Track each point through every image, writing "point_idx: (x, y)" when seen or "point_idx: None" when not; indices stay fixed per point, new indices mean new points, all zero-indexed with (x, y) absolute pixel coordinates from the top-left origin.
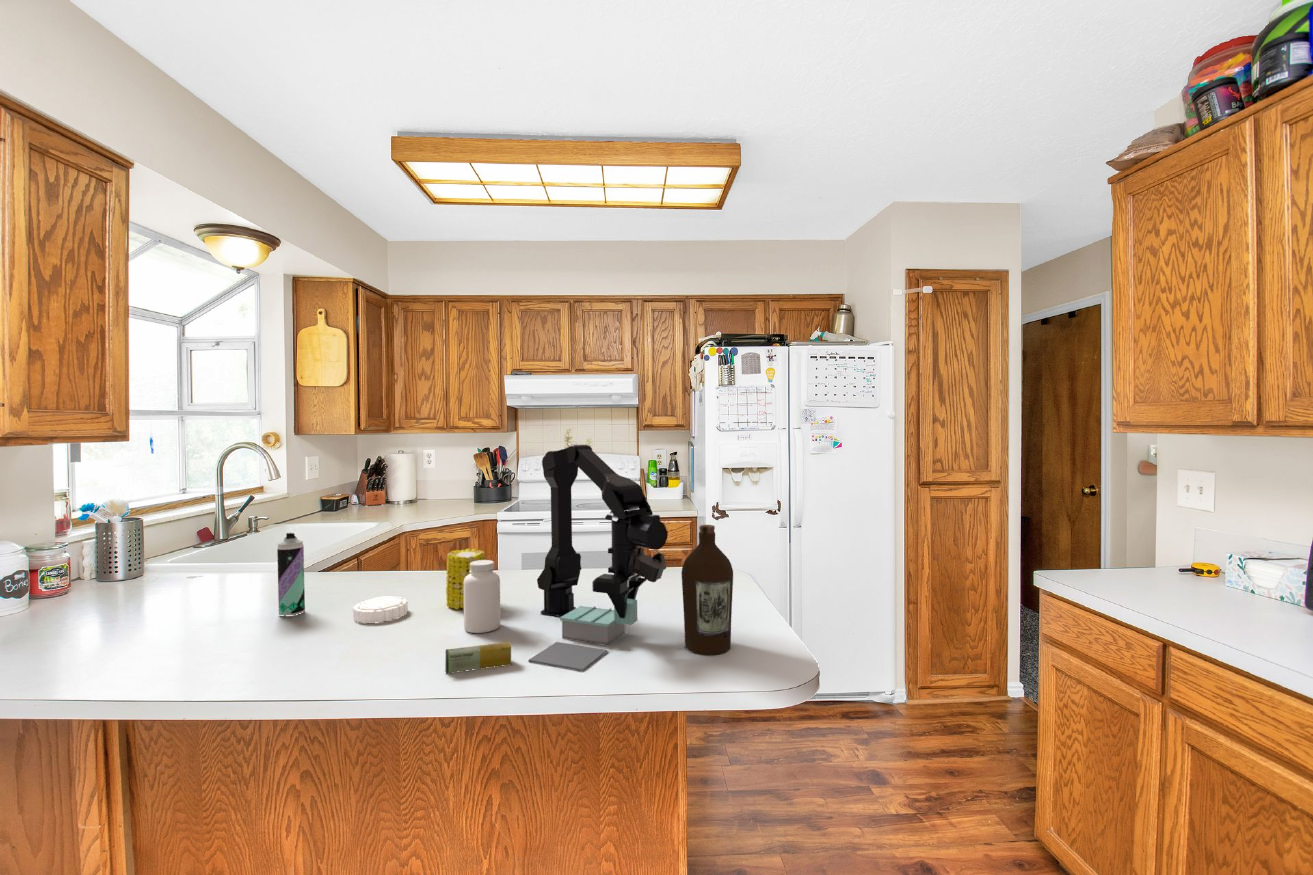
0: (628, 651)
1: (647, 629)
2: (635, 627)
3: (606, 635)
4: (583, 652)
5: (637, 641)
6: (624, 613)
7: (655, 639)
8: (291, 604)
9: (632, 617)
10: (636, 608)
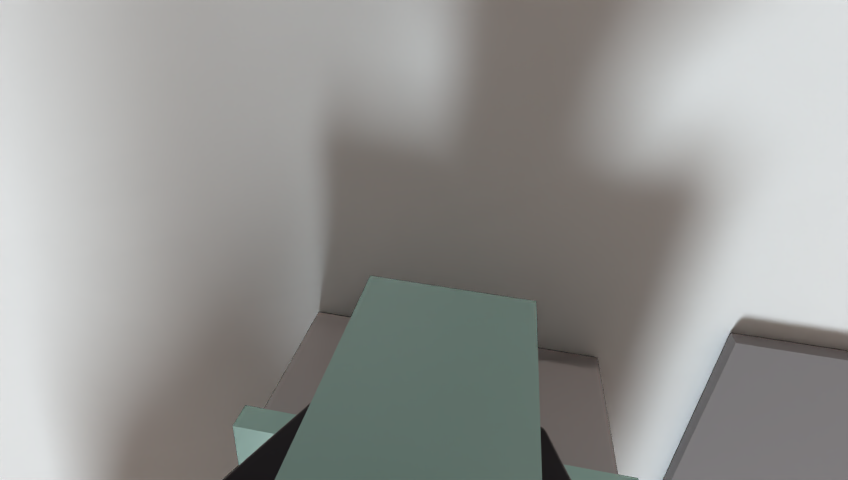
0: (707, 184)
1: (177, 171)
2: (188, 267)
3: (605, 422)
4: (794, 465)
5: (457, 175)
6: (566, 476)
7: (360, 28)
8: None
9: (501, 348)
10: (346, 386)
